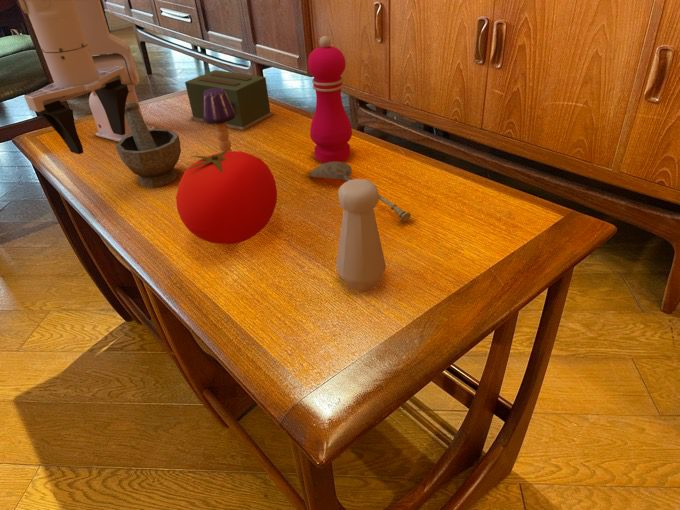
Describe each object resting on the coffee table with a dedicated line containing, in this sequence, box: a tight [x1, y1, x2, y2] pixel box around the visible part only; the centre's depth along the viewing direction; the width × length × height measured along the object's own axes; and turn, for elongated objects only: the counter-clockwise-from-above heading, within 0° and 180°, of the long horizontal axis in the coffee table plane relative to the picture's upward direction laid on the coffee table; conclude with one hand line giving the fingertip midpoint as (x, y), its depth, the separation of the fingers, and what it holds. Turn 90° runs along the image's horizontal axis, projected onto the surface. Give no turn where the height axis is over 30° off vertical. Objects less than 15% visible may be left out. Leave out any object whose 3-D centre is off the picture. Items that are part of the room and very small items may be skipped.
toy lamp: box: [203, 88, 236, 153], centre depth 74 cm, size 5×5×17 cm
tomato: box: [175, 149, 278, 245], centre depth 67 cm, size 12×14×11 cm
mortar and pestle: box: [115, 102, 182, 188], centre depth 83 cm, size 11×9×12 cm
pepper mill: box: [307, 35, 353, 164], centre depth 83 cm, size 7×7×20 cm
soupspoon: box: [308, 161, 412, 224], centre depth 77 cm, size 22×3×7 cm
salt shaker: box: [335, 178, 387, 293], centre depth 57 cm, size 6×6×13 cm
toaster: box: [184, 69, 273, 131], centre depth 105 cm, size 14×11×8 cm
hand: (99, 142), depth 75 cm, fingers open, 7 cm apart
